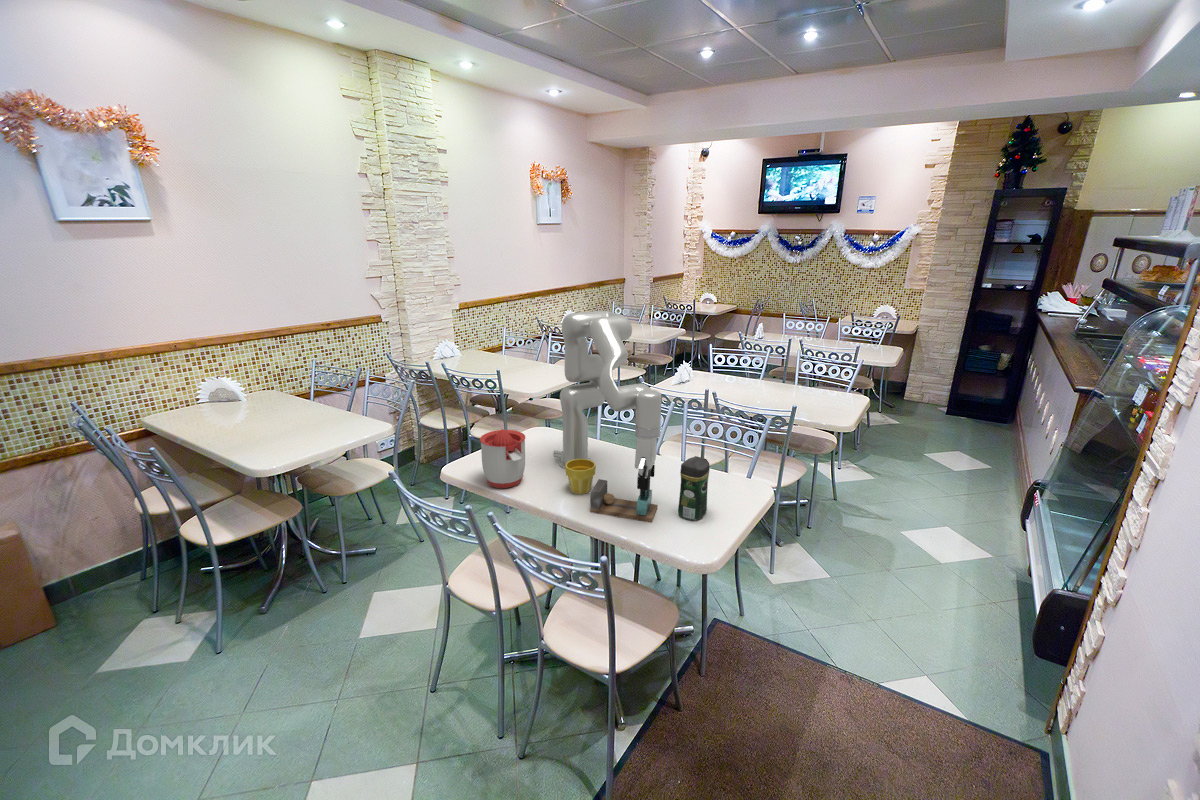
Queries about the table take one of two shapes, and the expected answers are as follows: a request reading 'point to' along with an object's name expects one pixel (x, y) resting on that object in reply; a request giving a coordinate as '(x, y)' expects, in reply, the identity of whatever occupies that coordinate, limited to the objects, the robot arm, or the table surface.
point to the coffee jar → (693, 488)
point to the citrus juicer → (503, 457)
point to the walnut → (608, 498)
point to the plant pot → (580, 475)
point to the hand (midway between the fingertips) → (645, 482)
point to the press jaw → (644, 498)
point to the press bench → (617, 505)
